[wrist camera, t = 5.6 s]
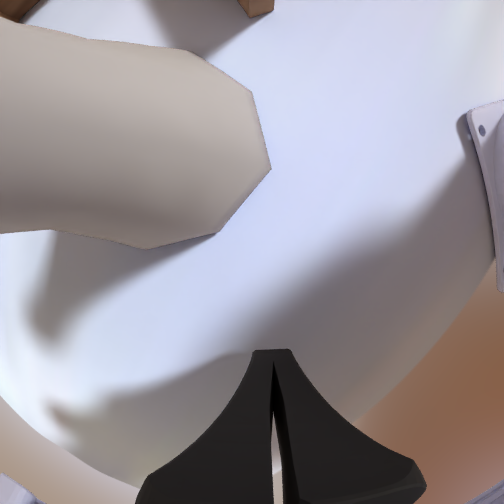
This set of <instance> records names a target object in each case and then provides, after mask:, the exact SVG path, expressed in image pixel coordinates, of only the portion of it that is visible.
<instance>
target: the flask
mask: <svg viewBox="0 0 504 504" xmlns="http://www.w3.org/2000/svg"><path fill="white" fill-rule="evenodd" d="M270 170H271V164H270V160H269V156H268V152H267V148H266V144H265V140H264V136H263V132H262V128H261V124H260V121H259V117H258V113H257V109H256V105H255V102H254V98H253V94H252V92H251V91H250V90H249V89H247V88H246V87H244V86H243V85H242V84H240V83H239V82H237V81H236V80H234V79H233V78H232V77H230V76H229V75H227V74H226V73H224V72H223V71H221V70H220V69H218V68H217V67H215V66H213V65H212V64H210V63H209V62H207V61H206V60H204V59H202V58H201V57H199V56H197V55H196V54H194V53H192V52H190V51H186V50H182V49H174V48H166V47H156V46H148V45H141V44H134V43H127V42H118V41H108V40H94V39H86V38H83V37H79V36H75V35H72V34H68V33H64V32H60V31H56V30H51V29H47V28H42V27H37V26H32V25H26V24H20V23H15V22H13V21H10V20H8V19H5V18H2V17H0V234H4V233H14V232H25V231H37V230H49V229H51V230H56V231H61V232H67V233H72V234H77V235H83V236H88V237H94V238H99V239H105V240H110V241H114V242H118V243H121V244H125V245H129V246H132V247H136V248H140V249H146V250H149V249H153V248H157V247H160V246H164V245H168V244H172V243H176V242H180V241H184V240H188V239H192V238H196V237H200V236H204V235H208V234H212V233H216V232H219V231H220V230H221V229H222V228H223V227H224V225H225V224H226V223H227V222H228V220H229V219H230V218H231V217H232V216H233V214H234V213H235V212H236V211H237V209H238V208H239V207H240V206H241V205H242V203H243V202H244V201H245V200H246V199H247V197H248V196H249V195H250V194H251V193H252V191H253V190H254V189H255V188H256V187H257V186H258V184H259V183H260V182H261V181H262V180H263V178H264V177H265V176H266V175H267V174H268V173H269V171H270Z"/></svg>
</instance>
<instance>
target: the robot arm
mask: <svg viewBox="0 0 504 504" xmlns="http://www.w3.org/2000/svg"><path fill="white" fill-rule="evenodd" d="M467 122H468V125H469V128H470V131H471V134H472V137H473V140H474V144H475V147H476V150H477V154H478V157H479V161H480V165H481V169H482V173H483V177H484V181H485V186H486V190H487V195H488V201H489V206H490V212H491V219H492V226H493V234H494V243H495V255H496V272H497V289H498V290H499V291H500V292H502V293H504V100H500V101H497V102H493V103H490V104H487V105H484V106H480V107H477V108H474V109H471V110H469V111H468V112H467ZM478 128H479V129H480V133H479V129H478ZM273 412H274V418H275V425H276V431H277V437H278V443H279V449H280V456H281V464H282V484H283V504H413V503H414V502H415V501H416V500H418V499H419V498H420V497H421V495H422V494H423V493H424V492H425V490H426V487H427V485H426V482H425V480H424V478H423V475H422V473H421V471H420V470H419V468H418V466H417V465H416V463H415V462H414V460H412V459H410V458H408V457H405V456H403V455H401V454H399V453H397V452H394V451H392V450H390V449H388V448H386V447H384V446H382V445H381V444H379V443H377V442H376V441H374V440H373V439H371V438H370V437H368V436H367V435H365V434H364V433H362V432H361V431H360V430H358V429H357V428H355V427H354V426H353V425H351V424H350V423H349V422H348V421H347V420H345V419H344V418H343V417H342V416H341V415H340V414H339V413H338V412H337V411H335V410H334V409H333V408H332V407H331V406H330V405H329V404H328V402H327V401H326V400H325V399H324V398H323V397H322V396H321V395H320V394H319V392H318V391H317V390H316V389H315V387H314V386H313V385H312V384H311V382H310V381H309V379H308V378H307V377H306V375H305V374H304V372H303V371H302V369H301V368H300V366H299V365H298V363H297V361H296V359H295V358H294V356H293V354H292V351H291V350H289V349H274V350H255V351H254V352H253V354H252V358H251V361H250V364H249V366H248V369H247V371H246V373H245V375H244V377H243V379H242V381H241V383H240V385H239V387H238V389H237V390H236V392H235V394H234V395H233V397H232V398H231V400H230V401H229V403H228V404H227V406H226V407H225V409H224V410H223V411H222V413H221V414H220V415H219V416H218V418H217V419H216V420H215V421H214V422H213V424H212V425H211V426H210V427H209V428H208V429H207V430H206V431H205V432H204V433H203V434H202V435H201V436H200V437H199V438H198V439H197V440H196V441H195V442H194V443H193V444H191V445H190V446H189V447H188V448H187V449H186V450H184V451H183V452H182V453H181V454H180V455H178V456H177V457H176V458H174V459H173V460H172V461H170V462H169V463H167V464H166V465H164V466H162V467H161V468H159V469H158V470H156V471H155V472H153V473H151V474H150V475H148V476H147V478H146V480H145V481H144V483H143V485H142V487H141V489H140V491H139V493H138V495H137V498H136V502H135V504H274V498H273V478H272V457H271V435H272V422H273ZM0 504H46V503H44V502H42V501H40V500H39V499H37V498H36V497H35V496H34V495H33V494H32V493H31V492H30V491H28V490H27V489H26V488H25V487H23V486H22V485H20V484H19V483H17V482H16V481H14V480H13V479H12V478H10V477H9V476H7V475H6V474H4V473H1V475H0ZM465 504H504V480H502V481H500V482H499V483H497V484H496V485H495V486H493V487H492V488H490V489H488V490H487V491H486V492H484V493H482V494H480V495H479V496H477V497H476V498H474V499H472V500H470V501H469V502H467V503H465Z"/></svg>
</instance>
